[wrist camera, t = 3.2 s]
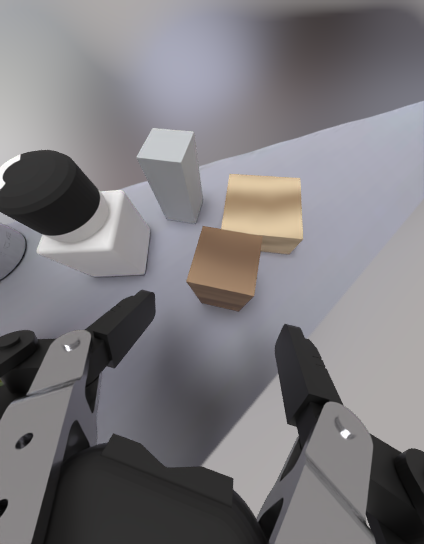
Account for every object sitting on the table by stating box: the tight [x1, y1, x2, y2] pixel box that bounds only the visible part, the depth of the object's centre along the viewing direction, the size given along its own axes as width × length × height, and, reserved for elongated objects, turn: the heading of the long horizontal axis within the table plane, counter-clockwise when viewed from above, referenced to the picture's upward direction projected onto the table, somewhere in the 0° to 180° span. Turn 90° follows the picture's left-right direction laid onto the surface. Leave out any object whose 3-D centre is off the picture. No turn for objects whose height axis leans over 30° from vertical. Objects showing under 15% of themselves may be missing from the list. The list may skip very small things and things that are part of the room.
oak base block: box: [221, 174, 303, 254], centre depth 21 cm, size 9×9×4 cm
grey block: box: [137, 128, 203, 224], centre depth 20 cm, size 4×4×9 cm
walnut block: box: [186, 226, 263, 311], centre depth 15 cm, size 4×4×9 cm
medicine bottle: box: [0, 150, 150, 277], centre depth 16 cm, size 7×7×12 cm
